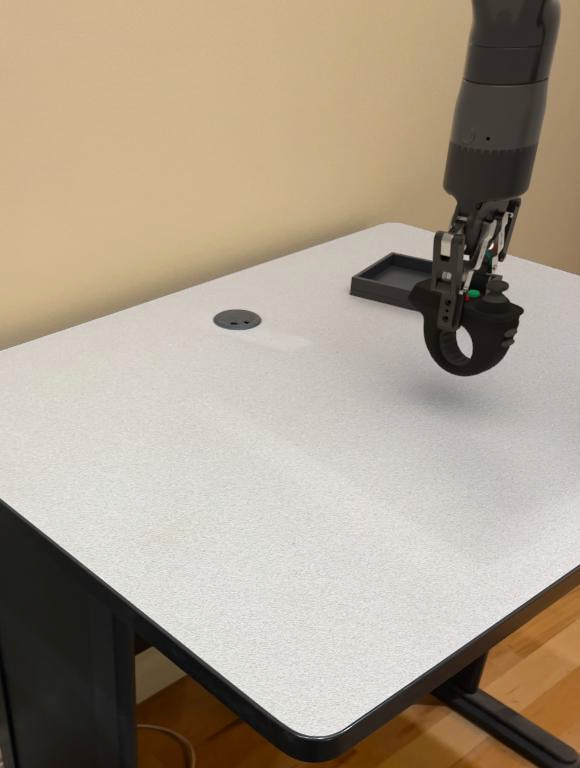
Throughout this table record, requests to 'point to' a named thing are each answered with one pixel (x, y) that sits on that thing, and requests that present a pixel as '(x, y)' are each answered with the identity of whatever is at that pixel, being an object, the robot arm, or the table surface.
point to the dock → (394, 279)
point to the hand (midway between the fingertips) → (460, 318)
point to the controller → (469, 327)
